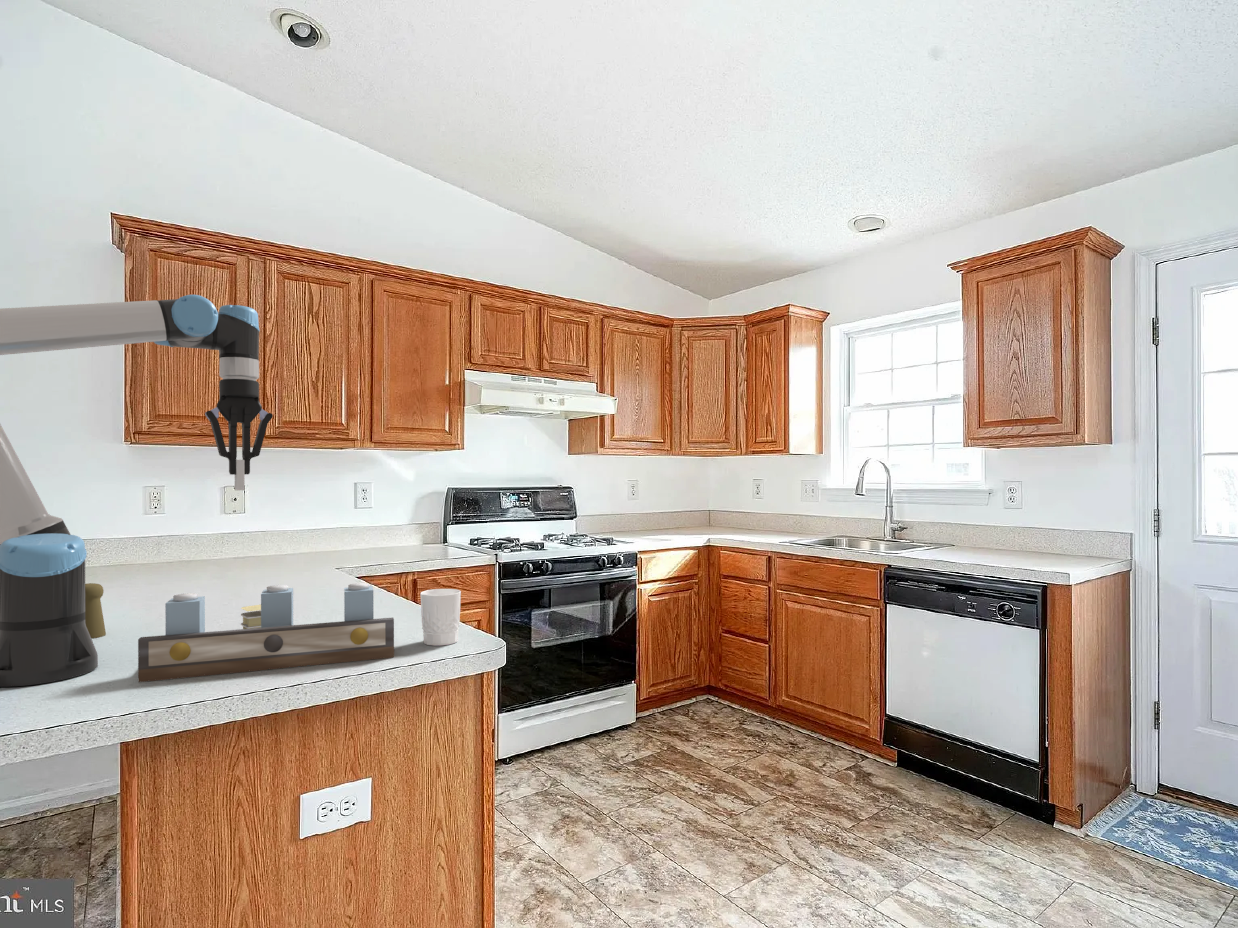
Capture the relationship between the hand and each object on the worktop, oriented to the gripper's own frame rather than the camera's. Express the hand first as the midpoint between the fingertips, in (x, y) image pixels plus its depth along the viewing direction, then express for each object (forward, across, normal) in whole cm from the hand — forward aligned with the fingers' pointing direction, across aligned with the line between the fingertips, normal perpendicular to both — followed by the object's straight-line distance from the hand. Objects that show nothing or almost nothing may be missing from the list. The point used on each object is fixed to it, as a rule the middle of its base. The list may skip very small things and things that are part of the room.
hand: (239, 490), depth 152 cm
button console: (+30, -2, +28) cm, 41 cm away
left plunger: (+28, +12, +27) cm, 41 cm away
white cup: (+31, -31, +34) cm, 55 cm away
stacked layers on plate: (+31, -3, +1) cm, 31 cm away
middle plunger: (+28, -2, +27) cm, 39 cm away
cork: (+31, +26, -16) cm, 43 cm away
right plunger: (+28, -15, +34) cm, 47 cm away
